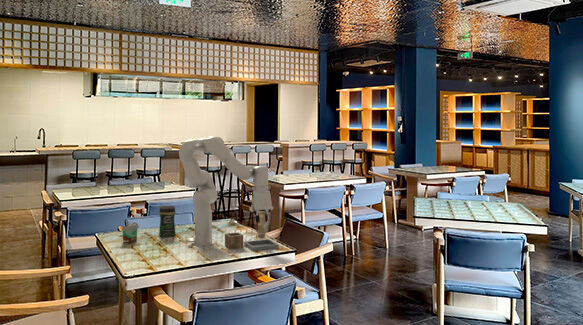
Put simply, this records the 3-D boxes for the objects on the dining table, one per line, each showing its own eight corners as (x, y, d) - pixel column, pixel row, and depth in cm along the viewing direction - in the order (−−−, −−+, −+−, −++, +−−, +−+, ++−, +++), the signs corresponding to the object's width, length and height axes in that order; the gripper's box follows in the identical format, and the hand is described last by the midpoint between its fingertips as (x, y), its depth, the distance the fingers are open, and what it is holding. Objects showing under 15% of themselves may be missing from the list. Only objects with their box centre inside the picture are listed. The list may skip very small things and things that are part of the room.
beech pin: (259, 238, 255) (259, 213, 254) (257, 237, 258) (256, 211, 257) (266, 237, 256) (266, 212, 255) (263, 236, 260) (263, 211, 259)
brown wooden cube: (229, 251, 252) (229, 236, 251) (224, 247, 259) (224, 233, 258) (243, 249, 255) (243, 235, 254) (238, 246, 262) (238, 232, 262)
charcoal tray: (252, 252, 249) (252, 247, 248) (244, 246, 261) (244, 241, 261) (278, 250, 255) (278, 244, 254) (269, 244, 267) (269, 239, 267)
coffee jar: (159, 237, 282) (158, 207, 281) (159, 234, 290) (158, 205, 288) (175, 236, 285) (175, 206, 283) (175, 234, 292) (175, 204, 291)
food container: (131, 244, 266) (131, 226, 265) (121, 243, 267) (121, 226, 266) (142, 239, 278) (142, 222, 277) (133, 238, 279) (133, 222, 278)
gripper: (249, 190, 249) (249, 224, 250) (278, 188, 256) (278, 221, 257) (244, 188, 256) (244, 222, 257) (273, 187, 263) (273, 219, 264)
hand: (261, 221), depth 257 cm, fingers closed on beech pin, 4 cm apart
